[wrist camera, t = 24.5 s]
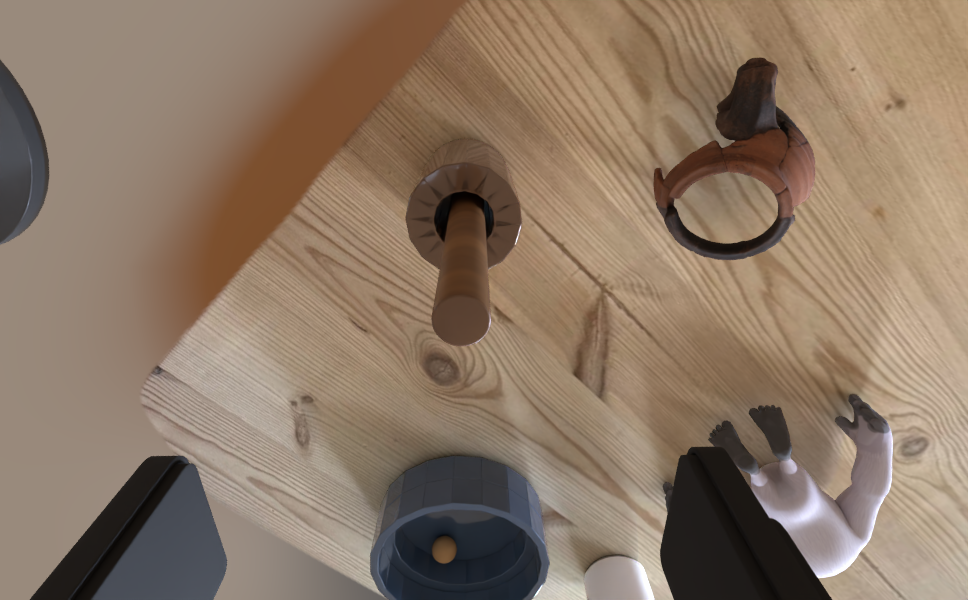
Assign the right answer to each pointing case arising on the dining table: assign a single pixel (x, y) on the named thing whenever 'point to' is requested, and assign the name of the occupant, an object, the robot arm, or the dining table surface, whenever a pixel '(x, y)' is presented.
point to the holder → (457, 172)
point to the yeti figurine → (800, 501)
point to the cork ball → (444, 549)
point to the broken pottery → (745, 161)
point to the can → (617, 580)
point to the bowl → (460, 533)
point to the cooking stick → (463, 275)
